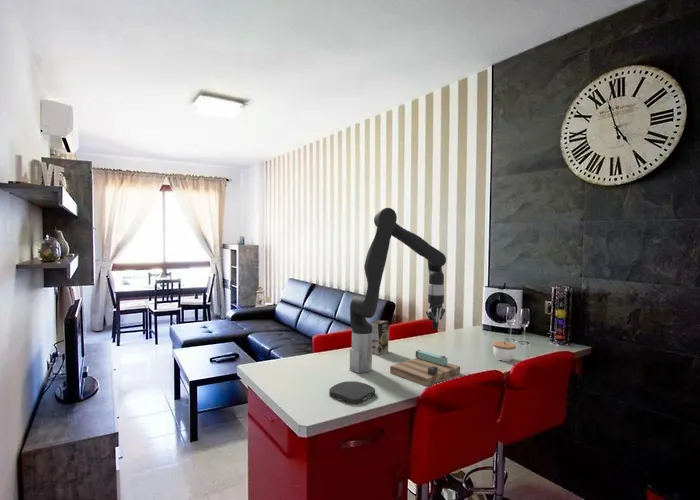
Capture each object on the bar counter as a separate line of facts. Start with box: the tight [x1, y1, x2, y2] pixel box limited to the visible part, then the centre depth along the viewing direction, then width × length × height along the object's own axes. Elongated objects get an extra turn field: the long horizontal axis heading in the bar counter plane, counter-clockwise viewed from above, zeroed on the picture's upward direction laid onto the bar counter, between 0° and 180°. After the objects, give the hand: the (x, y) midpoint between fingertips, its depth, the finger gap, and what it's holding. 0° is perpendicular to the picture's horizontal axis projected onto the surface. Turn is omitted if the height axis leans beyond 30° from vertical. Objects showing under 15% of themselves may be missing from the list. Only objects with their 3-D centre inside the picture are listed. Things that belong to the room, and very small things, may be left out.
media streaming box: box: [328, 380, 376, 405], centre depth 146 cm, size 15×15×3 cm
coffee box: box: [369, 319, 390, 356], centre depth 202 cm, size 9×6×16 cm
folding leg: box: [415, 349, 448, 366], centre depth 179 cm, size 16×3×4 cm, turn 42°
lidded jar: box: [492, 340, 517, 362], centre depth 193 cm, size 11×11×9 cm
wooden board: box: [389, 357, 461, 387], centre depth 171 cm, size 24×20×6 cm
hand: (435, 329), depth 186 cm, fingers closed
